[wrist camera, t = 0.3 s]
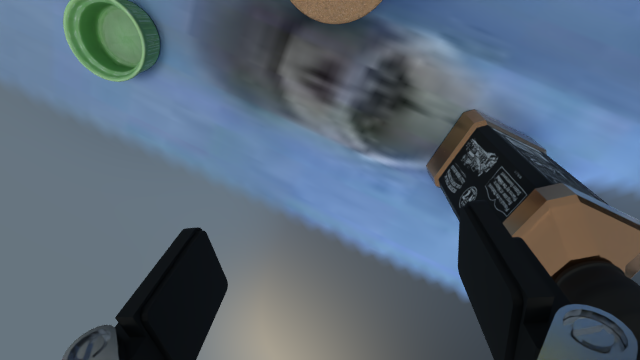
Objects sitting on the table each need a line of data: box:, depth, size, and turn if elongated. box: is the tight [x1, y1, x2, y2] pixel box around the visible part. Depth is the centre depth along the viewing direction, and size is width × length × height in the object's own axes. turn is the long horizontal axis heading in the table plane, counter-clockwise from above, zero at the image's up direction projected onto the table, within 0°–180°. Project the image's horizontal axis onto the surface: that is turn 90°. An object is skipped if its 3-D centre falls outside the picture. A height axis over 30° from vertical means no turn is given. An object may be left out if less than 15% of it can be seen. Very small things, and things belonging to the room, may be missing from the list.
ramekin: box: [63, 0, 160, 82], centre depth 36 cm, size 9×9×4 cm
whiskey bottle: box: [426, 110, 640, 349], centre depth 27 cm, size 10×10×32 cm
